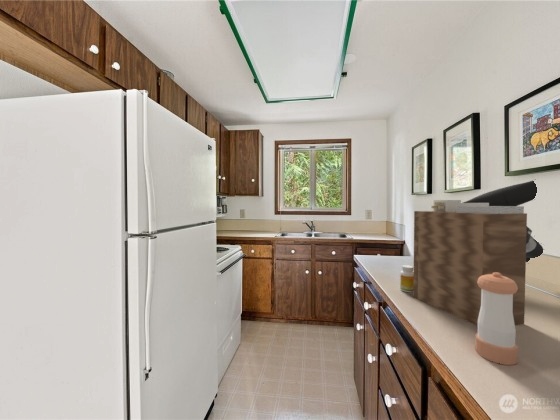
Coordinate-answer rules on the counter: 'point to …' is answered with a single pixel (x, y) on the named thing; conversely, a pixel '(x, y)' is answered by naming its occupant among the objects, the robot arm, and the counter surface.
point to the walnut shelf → (467, 259)
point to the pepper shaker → (496, 319)
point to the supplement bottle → (407, 278)
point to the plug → (452, 205)
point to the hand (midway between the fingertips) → (492, 219)
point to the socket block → (490, 209)
